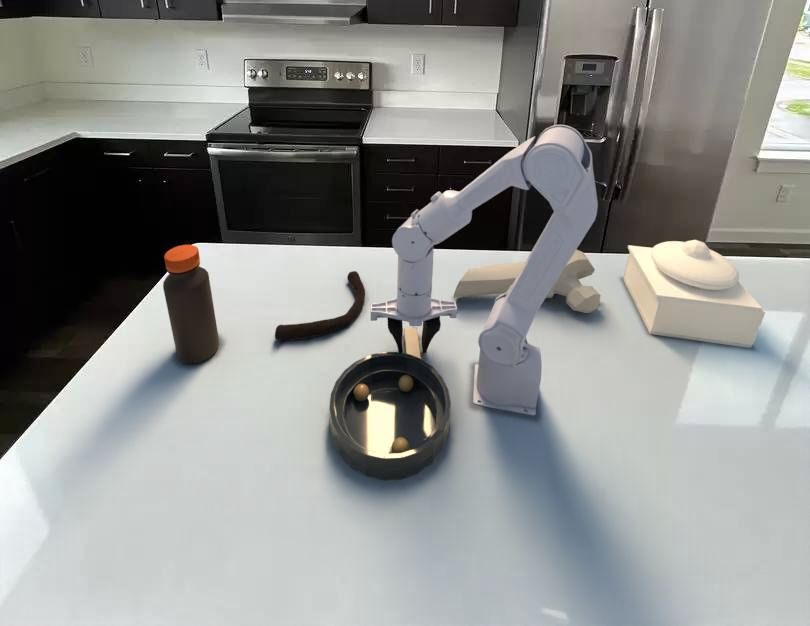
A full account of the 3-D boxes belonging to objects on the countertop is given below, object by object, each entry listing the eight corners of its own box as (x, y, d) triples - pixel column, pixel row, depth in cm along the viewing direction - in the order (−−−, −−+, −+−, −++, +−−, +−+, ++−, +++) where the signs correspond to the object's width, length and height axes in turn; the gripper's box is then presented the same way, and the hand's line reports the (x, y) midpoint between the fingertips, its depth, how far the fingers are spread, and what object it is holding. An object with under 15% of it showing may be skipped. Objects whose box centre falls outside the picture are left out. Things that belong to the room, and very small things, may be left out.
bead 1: (361, 380, 66) (351, 383, 67) (359, 397, 64) (349, 400, 65) (373, 384, 67) (363, 387, 68) (371, 401, 65) (361, 404, 66)
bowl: (453, 382, 70) (455, 361, 68) (441, 496, 54) (443, 471, 52) (351, 364, 73) (351, 344, 71) (312, 466, 57) (310, 443, 55)
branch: (309, 366, 72) (308, 351, 71) (270, 341, 77) (269, 327, 76) (388, 293, 91) (389, 280, 90) (353, 277, 96) (353, 265, 95)
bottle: (199, 370, 71) (181, 268, 64) (168, 358, 73) (146, 259, 66) (228, 341, 77) (213, 246, 70) (198, 331, 79) (181, 238, 72)
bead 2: (417, 388, 66) (415, 383, 69) (409, 374, 67) (407, 370, 69) (404, 397, 66) (403, 392, 68) (396, 383, 66) (395, 379, 69)
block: (403, 338, 79) (403, 328, 78) (416, 337, 79) (416, 327, 78) (406, 373, 71) (407, 362, 71) (421, 373, 72) (421, 362, 71)
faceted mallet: (580, 278, 97) (588, 236, 94) (605, 321, 84) (616, 273, 81) (449, 273, 98) (452, 231, 94) (453, 315, 85) (457, 268, 81)
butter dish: (751, 348, 79) (779, 275, 73) (647, 333, 82) (666, 263, 76) (706, 288, 95) (726, 226, 90) (620, 278, 98) (635, 217, 92)
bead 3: (404, 432, 60) (411, 451, 59) (388, 442, 59) (396, 460, 58) (405, 434, 58) (413, 453, 57) (389, 443, 57) (396, 463, 56)
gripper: (370, 301, 66) (370, 369, 71) (462, 299, 67) (457, 365, 72) (370, 274, 72) (370, 337, 77) (454, 272, 74) (449, 334, 78)
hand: (412, 349), depth 75 cm, fingers open, 4 cm apart
